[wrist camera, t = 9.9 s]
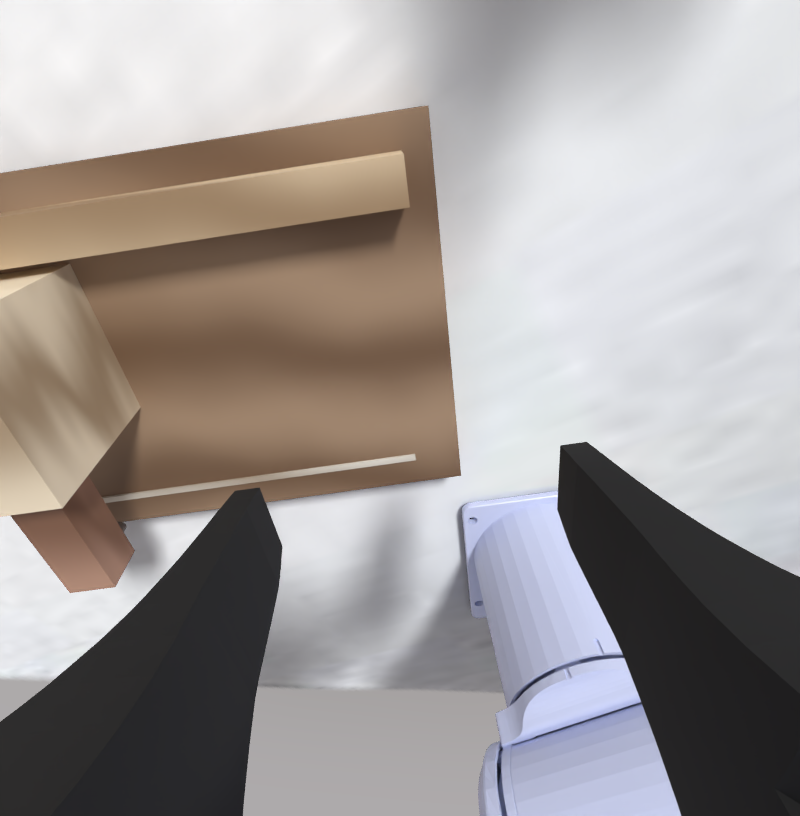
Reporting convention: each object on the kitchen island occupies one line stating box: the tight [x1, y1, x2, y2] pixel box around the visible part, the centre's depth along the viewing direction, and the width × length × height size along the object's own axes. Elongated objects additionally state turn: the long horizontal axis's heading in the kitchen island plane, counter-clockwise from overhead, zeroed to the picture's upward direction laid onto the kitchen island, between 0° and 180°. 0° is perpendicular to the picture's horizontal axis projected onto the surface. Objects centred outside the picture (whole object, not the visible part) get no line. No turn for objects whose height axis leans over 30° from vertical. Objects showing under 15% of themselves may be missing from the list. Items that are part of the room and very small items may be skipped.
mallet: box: [0, 264, 141, 593], centre depth 17 cm, size 11×4×6 cm, turn 8°
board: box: [0, 106, 461, 522], centre depth 19 cm, size 15×20×3 cm
